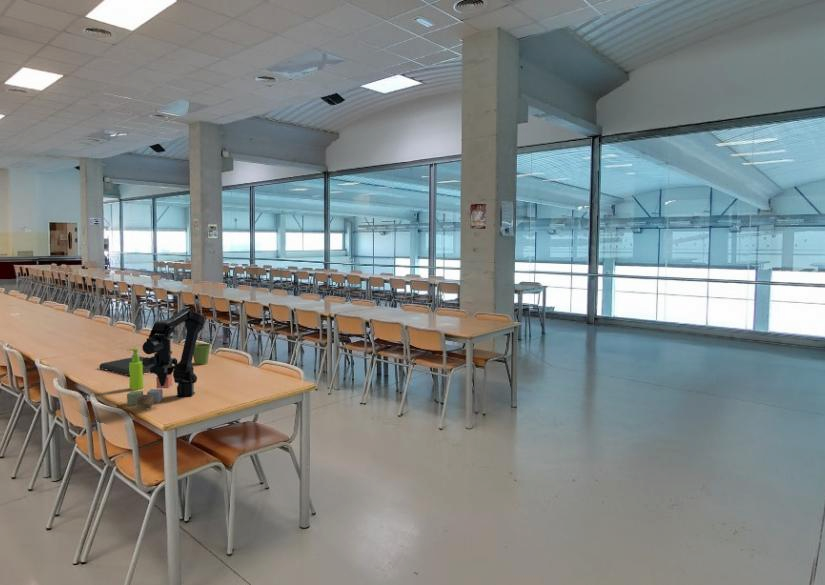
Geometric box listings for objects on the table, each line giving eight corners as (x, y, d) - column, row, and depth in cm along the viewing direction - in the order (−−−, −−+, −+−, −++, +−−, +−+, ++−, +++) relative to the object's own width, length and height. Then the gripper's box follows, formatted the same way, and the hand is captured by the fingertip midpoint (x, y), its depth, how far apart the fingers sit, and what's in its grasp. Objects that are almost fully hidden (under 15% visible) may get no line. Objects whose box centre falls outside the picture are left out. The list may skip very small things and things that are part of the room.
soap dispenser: (132, 386, 270) (131, 347, 268) (145, 387, 270) (144, 347, 268) (125, 389, 264) (123, 349, 263) (138, 390, 264) (137, 350, 262)
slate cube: (162, 399, 249) (162, 389, 248) (158, 402, 244) (158, 392, 243) (151, 400, 248) (151, 389, 248) (147, 403, 243) (147, 392, 243)
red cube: (172, 385, 243) (171, 374, 242) (168, 388, 238) (168, 377, 237) (160, 385, 242) (160, 374, 242) (156, 388, 237) (156, 377, 237)
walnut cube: (153, 405, 240) (152, 394, 240) (149, 408, 235) (148, 397, 235) (141, 405, 239) (141, 394, 239) (137, 409, 235) (136, 398, 234)
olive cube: (143, 401, 245) (142, 391, 245) (139, 405, 240) (138, 394, 240) (131, 402, 245) (131, 391, 244) (127, 405, 240) (126, 394, 239)
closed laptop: (172, 362, 310) (132, 371, 290) (173, 369, 310) (132, 378, 290) (139, 355, 327) (99, 363, 307) (139, 362, 328) (99, 370, 307)
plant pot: (215, 362, 328) (215, 343, 327) (204, 366, 317) (204, 347, 316) (197, 361, 330) (197, 342, 329) (186, 365, 319) (185, 346, 318)
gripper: (151, 346, 247) (152, 379, 248) (136, 354, 228) (137, 390, 230) (177, 346, 248) (178, 379, 249) (163, 354, 230) (164, 390, 231)
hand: (164, 384), depth 240 cm, fingers closed on red cube, 5 cm apart
